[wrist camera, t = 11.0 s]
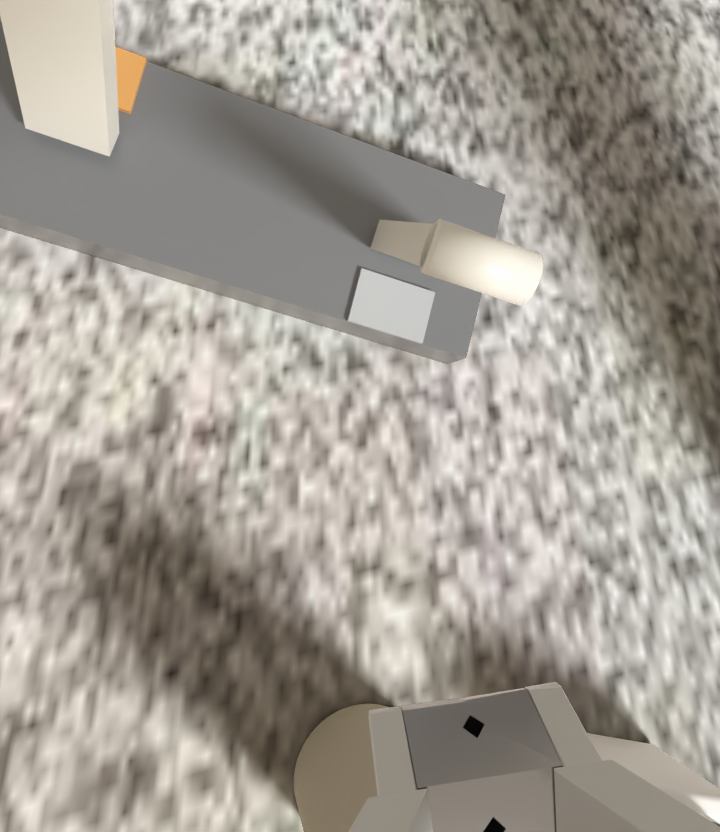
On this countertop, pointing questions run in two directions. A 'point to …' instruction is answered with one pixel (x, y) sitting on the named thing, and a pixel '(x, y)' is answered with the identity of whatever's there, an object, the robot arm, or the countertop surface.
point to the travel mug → (336, 771)
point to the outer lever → (65, 68)
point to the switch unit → (246, 207)
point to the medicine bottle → (662, 773)
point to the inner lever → (463, 257)
